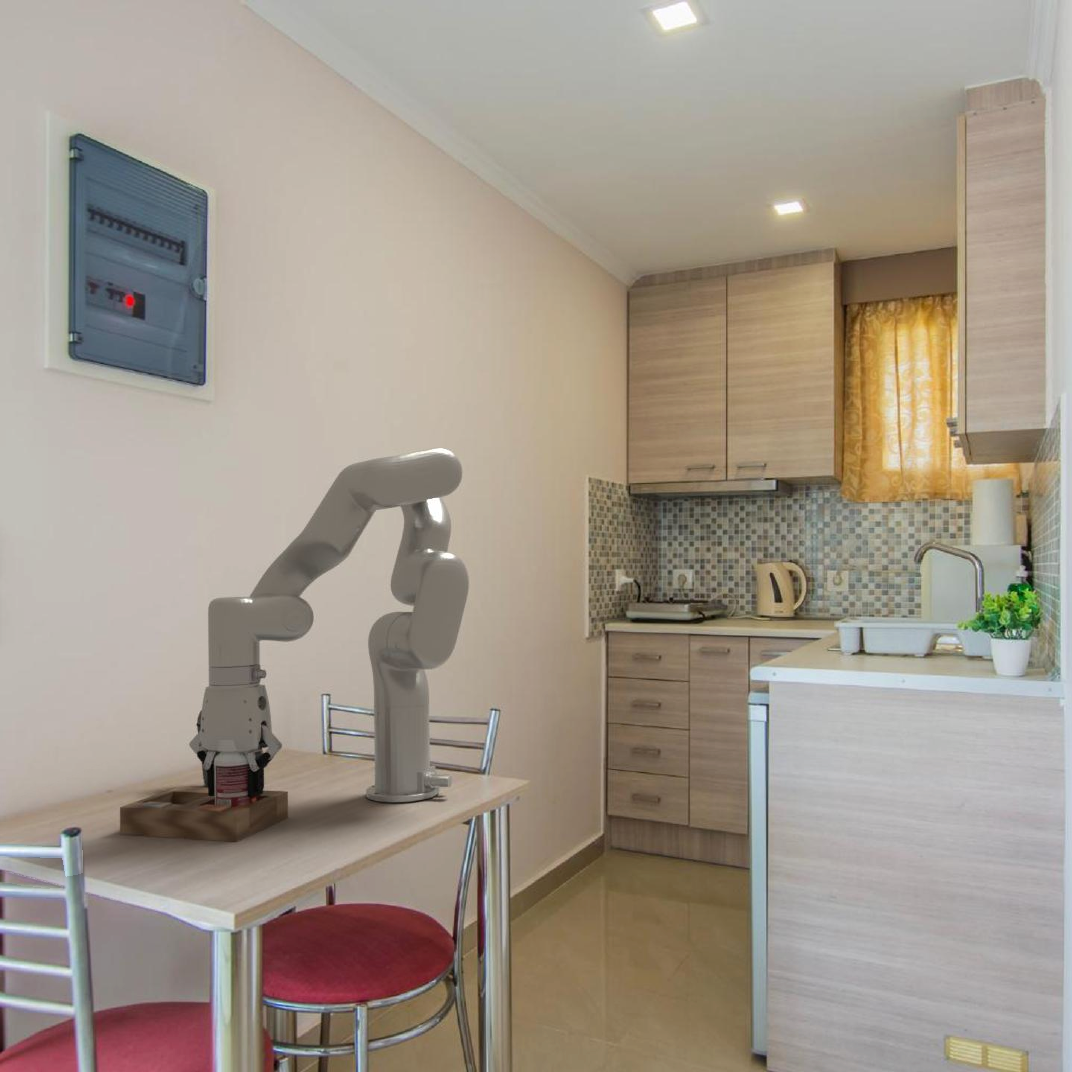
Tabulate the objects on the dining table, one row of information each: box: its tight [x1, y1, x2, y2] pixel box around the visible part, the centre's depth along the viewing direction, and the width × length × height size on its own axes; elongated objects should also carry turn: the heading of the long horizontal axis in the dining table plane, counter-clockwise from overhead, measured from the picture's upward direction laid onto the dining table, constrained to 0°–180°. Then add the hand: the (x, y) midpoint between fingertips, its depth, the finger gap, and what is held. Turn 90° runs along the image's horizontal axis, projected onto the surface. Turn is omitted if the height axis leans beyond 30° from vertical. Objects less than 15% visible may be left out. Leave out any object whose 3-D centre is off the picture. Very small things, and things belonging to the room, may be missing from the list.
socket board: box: [119, 786, 289, 843], centre depth 143 cm, size 20×14×4 cm
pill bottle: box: [214, 740, 257, 808], centre depth 142 cm, size 6×6×11 cm
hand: (235, 793), depth 142 cm, fingers closed on pill bottle, 6 cm apart
